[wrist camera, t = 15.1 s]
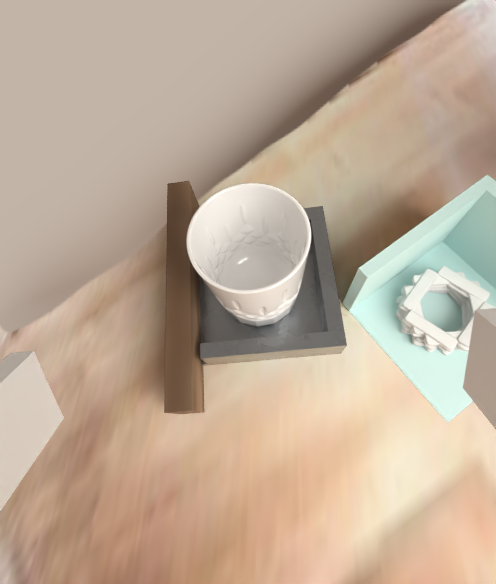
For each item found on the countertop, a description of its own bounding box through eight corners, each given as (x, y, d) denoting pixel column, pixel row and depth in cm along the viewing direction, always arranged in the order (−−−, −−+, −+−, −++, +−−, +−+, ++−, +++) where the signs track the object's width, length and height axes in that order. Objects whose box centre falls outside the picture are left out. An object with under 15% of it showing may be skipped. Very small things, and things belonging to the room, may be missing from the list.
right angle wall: (342, 303, 31) (358, 268, 24) (443, 228, 32) (487, 174, 25) (447, 422, 27) (504, 422, 20) (558, 330, 28) (648, 299, 21)
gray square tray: (319, 224, 34) (322, 206, 31) (340, 353, 29) (346, 345, 26) (199, 238, 35) (191, 221, 32) (203, 365, 30) (193, 359, 27)
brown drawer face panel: (199, 206, 36) (189, 181, 32) (204, 412, 29) (191, 410, 25) (180, 208, 36) (167, 183, 32) (180, 414, 29) (164, 412, 25)
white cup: (203, 271, 33) (170, 210, 23) (281, 238, 33) (278, 165, 24) (235, 348, 30) (211, 313, 20) (319, 311, 30) (334, 261, 21)
